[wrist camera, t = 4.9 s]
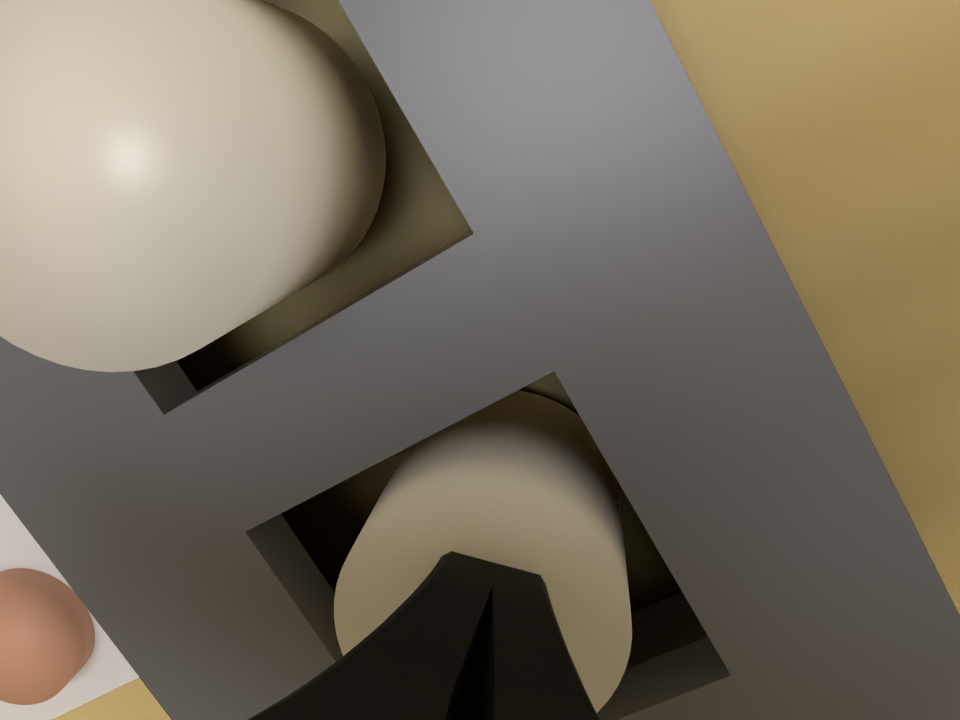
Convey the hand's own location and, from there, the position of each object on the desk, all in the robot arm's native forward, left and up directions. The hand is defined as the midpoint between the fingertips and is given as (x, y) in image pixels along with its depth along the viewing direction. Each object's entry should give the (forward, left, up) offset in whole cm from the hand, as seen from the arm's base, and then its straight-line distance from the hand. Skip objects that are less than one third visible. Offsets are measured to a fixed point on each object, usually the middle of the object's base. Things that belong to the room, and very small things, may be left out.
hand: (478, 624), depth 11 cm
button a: (0, 0, -4) cm, 4 cm away
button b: (+6, -4, -2) cm, 7 cm away
